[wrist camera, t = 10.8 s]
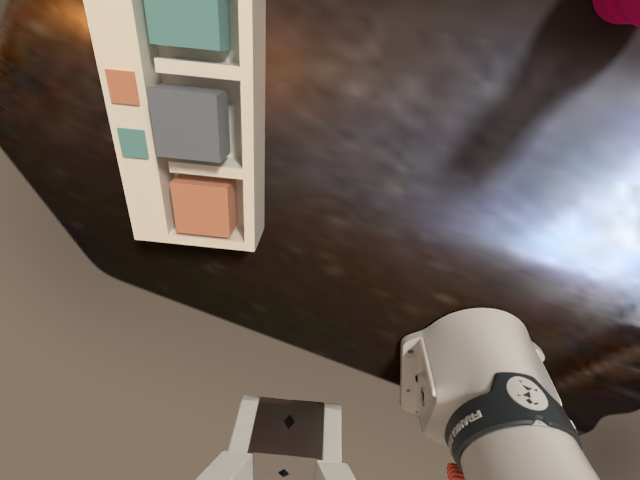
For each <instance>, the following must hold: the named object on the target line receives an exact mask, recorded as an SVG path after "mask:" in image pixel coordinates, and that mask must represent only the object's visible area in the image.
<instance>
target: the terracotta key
mask: <svg viewBox="0 0 640 480" xmlns="http://www.w3.org/2000/svg"><path fill="white" fill-rule="evenodd" d="M169 183H170V190H171V197H172V204H173V211H174V218H175V225H176V232H177V233H186V234H195V235H205V236H215V237H225V238H230V237H231V235H232V233H233V231H234V230H235V228H236V226H237V224H238V217H237V191H236V179H230V178H220V177H211V176H201V175H191V174H181V173H180V174H179V175H177V176H176V177H175V178H174V179H173V180H171V181H170V182H169Z"/></svg>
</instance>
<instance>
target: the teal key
mask: <svg viewBox="0 0 640 480" xmlns="http://www.w3.org/2000/svg"><path fill="white" fill-rule="evenodd" d="M144 7H145V14H146V21H147V28H148V35H149V42H150V44H156V45H165V46H175V47H185V48H194V49H204V50H214V51H226V50H231V32H230V6H229V0H144Z"/></svg>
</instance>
